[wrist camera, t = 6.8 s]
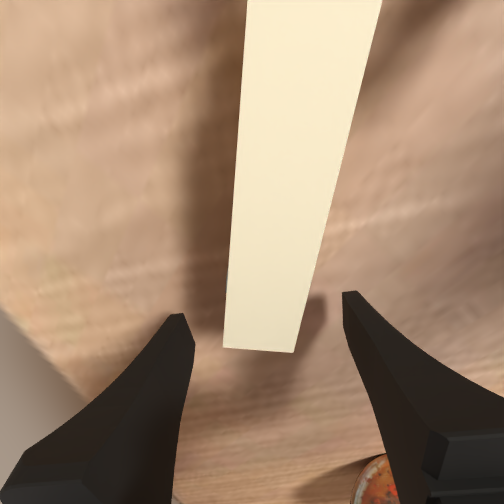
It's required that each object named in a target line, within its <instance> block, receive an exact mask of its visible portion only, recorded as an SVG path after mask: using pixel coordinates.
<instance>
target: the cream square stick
mask: <svg viewBox="0 0 504 504" xmlns="http://www.w3.org/2000/svg"><path fill="white" fill-rule="evenodd" d="M381 4H382V0H248V2H247V16H246V30H245V44H244V58H243V72H242V86H241V100H240V114H239V128H238V141H237V155H236V169H235V183H234V197H233V211H232V225H231V239H230V253H229V264H228V271H227V278H226V292H225V293H227V295H226V309H225V323H224V337H223V347H225V348H238V349H250V350H263V351H276V352H289V353H293V352H294V348H295V344H296V340H297V336H298V332H299V328H300V324H301V320H302V316H303V313H304V309H305V305H306V301H307V297H308V293H309V289H310V285H311V281H312V277H313V273H314V269H315V265H316V261H317V257H318V253H319V249H320V245H321V241H322V237H323V233H324V229H325V225H326V221H327V218H328V214H329V210H330V206H331V202H332V198H333V194H334V190H335V186H336V182H337V178H338V174H339V170H340V166H341V162H342V158H343V154H344V150H345V146H346V142H347V138H348V134H349V130H350V126H351V123H352V119H353V115H354V111H355V107H356V103H357V99H358V95H359V91H360V87H361V83H362V79H363V75H364V71H365V67H366V63H367V59H368V55H369V51H370V47H371V43H372V39H373V35H374V32H375V28H376V24H377V20H378V16H379V12H380V8H381Z"/></svg>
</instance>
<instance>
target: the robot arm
mask: <svg viewBox="0 0 504 504" xmlns="http://www.w3.org/2000/svg"><path fill="white" fill-rule="evenodd" d="M342 306H343V328H344V331H345V335H346V339H347V342H348V346H349V349H350V351H351V354H352V356H353V359H354V361H355V364H356V366H357V369H358V371H359V374H360V376H361V378H362V381H363V383H364V386H365V388H366V391H367V393H368V396H369V398H370V401H371V404H372V407H373V410H374V413H375V417H376V420H377V423H378V427H379V430H380V433H381V437H382V440H383V444H384V447H385V451H386V454H387V458H388V461H389V465H390V469H391V472H392V476H393V479H394V483H395V487H396V490H397V494H398V498H399V502H400V504H504V398H503V397H501V396H499V395H497V394H495V393H493V392H491V391H489V390H487V389H485V388H483V387H481V386H480V385H478V384H476V383H474V382H472V381H470V380H468V379H467V378H465V377H463V376H461V375H460V374H458V373H457V372H455V371H453V370H452V369H450V368H448V367H447V366H445V365H443V364H442V363H440V362H439V361H437V360H436V359H434V358H433V357H431V356H430V355H428V354H427V353H426V352H424V351H423V350H421V349H420V348H419V347H417V346H416V345H415V344H413V343H412V342H411V341H410V340H408V339H407V338H406V337H405V336H404V335H402V334H401V333H400V332H399V331H398V330H396V329H395V328H394V327H393V326H392V325H391V324H390V323H389V322H388V321H386V320H385V319H384V318H383V317H382V316H381V315H380V314H379V313H378V312H377V311H376V310H375V309H374V308H373V307H372V306H371V305H370V304H369V303H368V302H367V301H366V300H365V299H364V297H363V296H362V295H361V294H360V293H359V292H358V291H349V292H342ZM194 354H195V341H194V339H193V336H192V334H191V331H190V329H189V326H188V324H187V321H186V319H185V316H184V314H183V313H179V314H172V315H170V316H169V317H168V318H167V320H166V321H165V322H164V324H163V325H162V326H161V327H160V329H159V330H158V331H157V333H156V334H155V335H154V336H153V338H152V339H151V340H150V341H149V343H148V344H147V345H146V346H145V348H144V349H143V350H142V351H141V352H140V354H139V355H138V356H137V357H136V358H135V359H134V360H133V362H132V363H131V364H130V365H129V366H128V367H127V368H126V369H125V371H124V372H123V373H122V374H121V375H120V376H119V377H118V378H117V379H116V380H115V381H114V382H113V383H112V384H111V385H110V386H109V387H108V388H106V389H105V390H104V391H103V392H102V393H101V394H100V395H99V396H97V397H96V398H95V399H94V400H93V401H92V402H91V403H89V404H88V405H87V406H86V407H85V408H84V409H82V410H81V411H80V412H79V413H77V414H76V415H75V416H74V417H72V418H71V419H70V420H68V421H67V422H66V423H65V424H63V425H62V426H60V427H59V428H58V429H56V430H55V431H54V432H52V433H51V434H49V435H48V436H46V437H45V438H43V439H42V440H40V441H39V442H37V443H36V444H35V445H33V446H32V447H30V448H29V449H27V450H26V451H25V452H24V453H23V455H22V456H21V458H20V460H19V461H18V463H17V465H16V466H15V468H14V469H13V471H12V473H11V474H10V476H9V478H8V479H7V481H6V483H5V484H4V486H3V487H2V489H1V491H0V500H1V502H2V504H171V499H172V488H173V477H174V467H175V458H176V450H177V442H178V434H179V427H180V421H181V416H182V411H183V407H184V403H185V398H186V394H187V390H188V386H189V382H190V377H191V373H192V368H193V363H194Z"/></svg>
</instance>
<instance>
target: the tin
mask: <svg viewBox="0 0 504 504" xmlns="http://www.w3.org/2000/svg"><path fill="white" fill-rule="evenodd" d="M350 504H400V502H399V498H398V494H397V490H396V487H395V483H394V479H393V476H392V472H391V469H390V465H389V461H388V458H387V454H384V455H382V456H379V457H377V458H375V459H374V460H372V461H371V462H370V463H369V464H368V465H367V466H366V467H365V468H364V469H363V470H362V472H361V473H360V474H359V476H358V478H357V480H356V482H355V485H354V488H353V491H352V495H351V501H350Z"/></svg>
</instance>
